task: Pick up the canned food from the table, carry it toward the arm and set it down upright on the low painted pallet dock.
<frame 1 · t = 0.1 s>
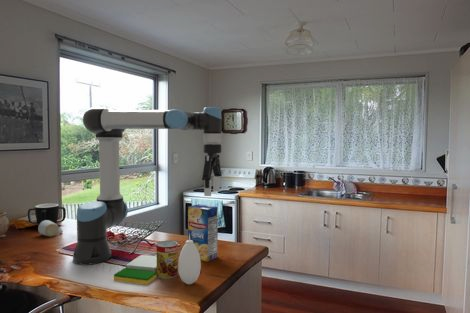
hand: (212, 193, 151), 28 cm above the counter, fingers open, 13 cm apart
ceramic mug: (51, 235, 186), on the counter
dock: (147, 268, 140), on the counter
sauce bottle: (189, 283, 126), on the counter
beverage box: (202, 257, 154), on the counter
canned food: (167, 275, 134), on the counter
dish sponge: (135, 280, 130), on the counter
mug: (47, 226, 205), on the counter
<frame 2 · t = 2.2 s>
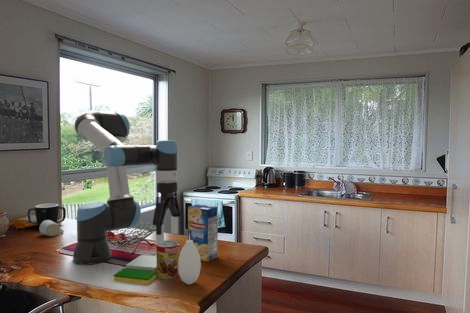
hand: (167, 238, 133), 14 cm above the counter, fingers open, 13 cm apart
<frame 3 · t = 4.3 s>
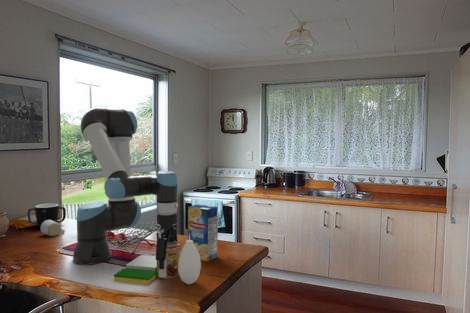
hand: (167, 272, 134), 1 cm above the counter, fingers closed on canned food, 8 cm apart
canned food: (167, 275, 134), on the counter, touching gripper
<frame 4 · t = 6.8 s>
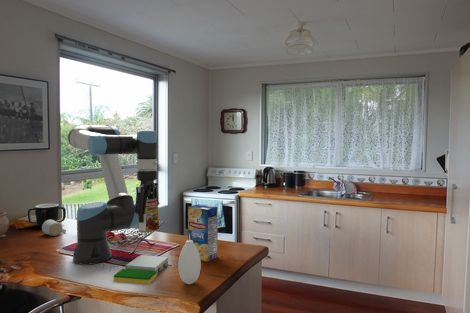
hand: (147, 227, 139), 16 cm above the counter, fingers closed on canned food, 8 cm apart
canned food: (148, 230, 139), point 15 cm above the counter, touching gripper
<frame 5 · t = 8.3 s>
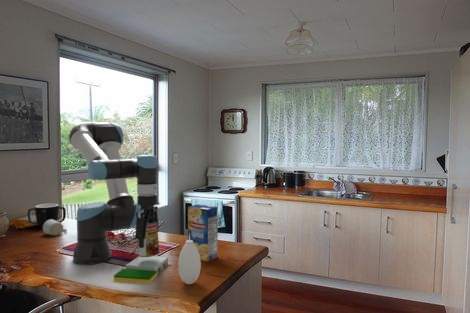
hand: (147, 251, 139), 7 cm above the counter, fingers closed on canned food, 8 cm apart
canned food: (149, 254, 139), point 6 cm above the counter, touching gripper
when the fingers open (5 cm above the counter, at t = 9.5 s): canned food drops 1 cm, resting on dock.
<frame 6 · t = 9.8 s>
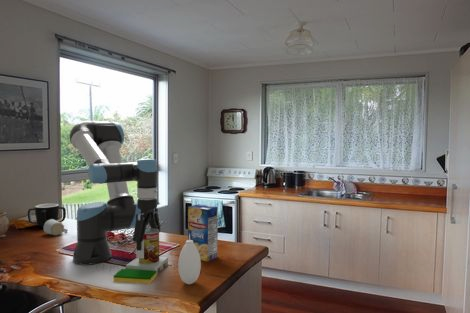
hand: (147, 253, 139), 6 cm above the counter, fingers open, 11 cm apart
canned food: (149, 261, 139), point 3 cm above the counter, touching dock
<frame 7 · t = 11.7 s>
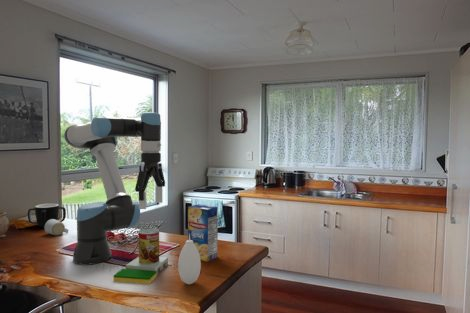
hand: (151, 205, 140), 25 cm above the counter, fingers open, 13 cm apart
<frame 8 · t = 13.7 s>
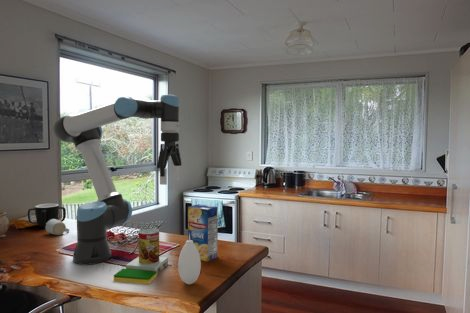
hand: (170, 182, 150), 33 cm above the counter, fingers open, 13 cm apart
at the end: canned food inside the target area on the dock (0.6 cm from its centre), point 2.8 cm above the dock's base; canned food tilted 0°; the gripper is holding nothing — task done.
